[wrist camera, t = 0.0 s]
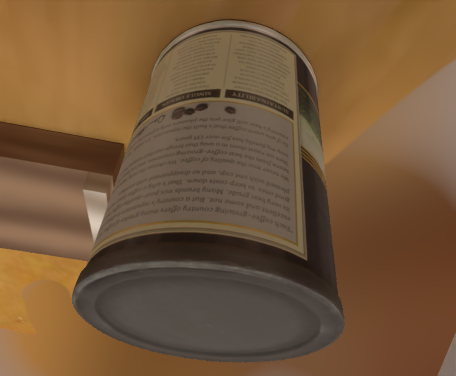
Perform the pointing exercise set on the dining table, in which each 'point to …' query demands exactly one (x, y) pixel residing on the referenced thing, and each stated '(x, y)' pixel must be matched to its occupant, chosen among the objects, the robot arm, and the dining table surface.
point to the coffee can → (220, 208)
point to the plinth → (54, 190)
